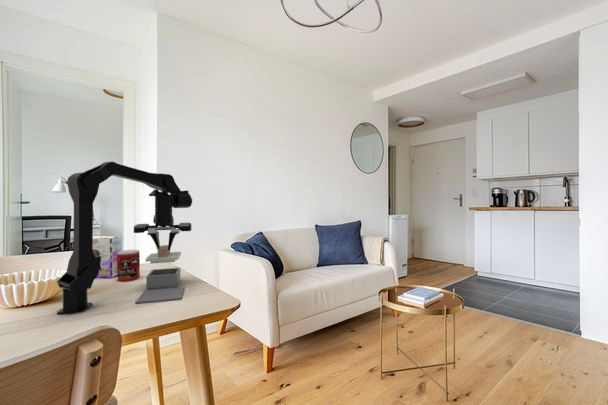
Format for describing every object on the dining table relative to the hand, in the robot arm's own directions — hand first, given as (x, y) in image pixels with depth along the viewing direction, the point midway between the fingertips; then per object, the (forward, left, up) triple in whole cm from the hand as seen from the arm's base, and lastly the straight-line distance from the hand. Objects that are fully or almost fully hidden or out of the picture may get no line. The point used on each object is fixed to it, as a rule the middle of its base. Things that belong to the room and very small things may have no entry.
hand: (164, 251), depth 109 cm
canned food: (+14, +15, -13) cm, 24 cm away
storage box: (0, 0, -13) cm, 13 cm away
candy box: (+22, +27, -13) cm, 37 cm away
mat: (-13, -1, -13) cm, 18 cm away
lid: (0, 0, -4) cm, 4 cm away
